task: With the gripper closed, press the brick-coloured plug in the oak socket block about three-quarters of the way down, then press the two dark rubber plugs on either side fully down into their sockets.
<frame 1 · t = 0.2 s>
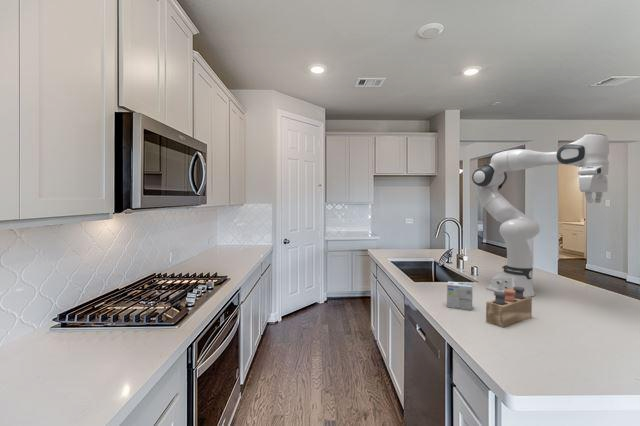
hand: (593, 202, 140), 48 cm above the worktop, tool pointing down, fingers open, 8 cm apart
plug near: (499, 302, 128), point 8 cm above the worktop, slide at 0.0 cm
plug mid: (509, 300, 132), point 8 cm above the worktop, slide at 0.0 cm
oak socket block: (509, 319, 132), on the worktop
light bulb box: (459, 307, 148), on the worktop
plug far: (518, 297, 135), point 8 cm above the worktop, slide at 0.0 cm
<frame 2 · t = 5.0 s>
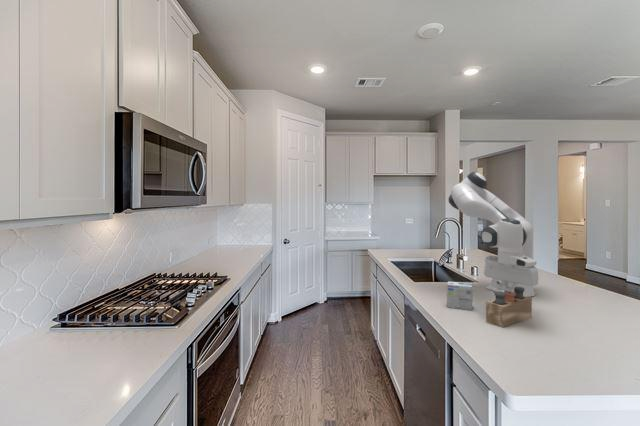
hand: (509, 292, 132), 11 cm above the worktop, tool pointing down, fingers closed, pressing on plug mid
plug mid: (509, 301, 132), point 7 cm above the worktop, slide at 0.8 cm, touching gripper
everything else where it was.
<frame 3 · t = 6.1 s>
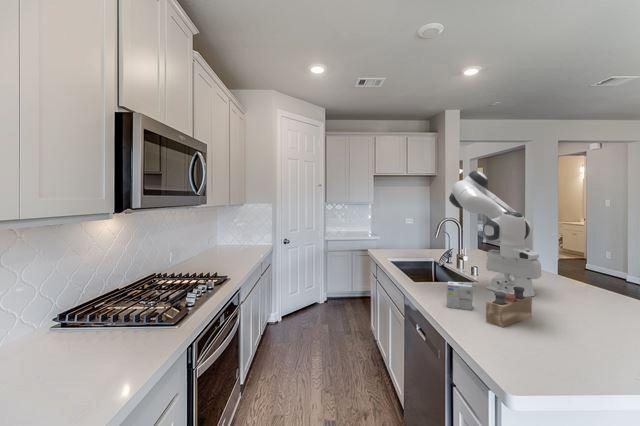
hand: (511, 285, 131), 14 cm above the worktop, tool pointing down, fingers closed
plug mid: (509, 304, 132), point 6 cm above the worktop, slide at 1.9 cm
everything else where it was.
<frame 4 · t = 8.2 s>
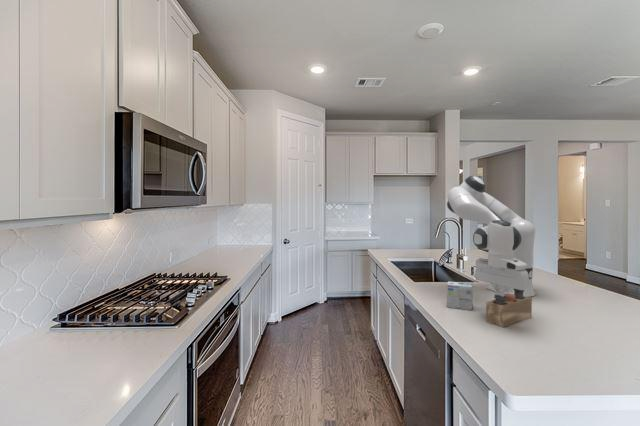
hand: (499, 295, 128), 11 cm above the worktop, tool pointing down, fingers closed, pressing on plug near
plug near: (499, 305, 128), point 7 cm above the worktop, slide at 1.2 cm, touching gripper
everything else where it was.
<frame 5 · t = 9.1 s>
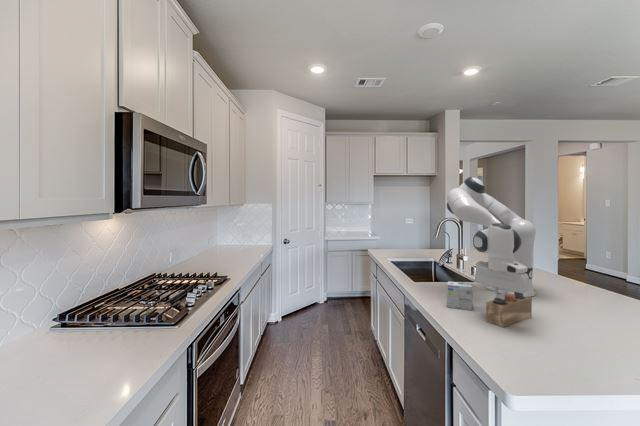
hand: (499, 298, 128), 10 cm above the worktop, tool pointing down, fingers closed
plug near: (499, 309, 128), point 6 cm above the worktop, slide at 2.5 cm
everything else where it was.
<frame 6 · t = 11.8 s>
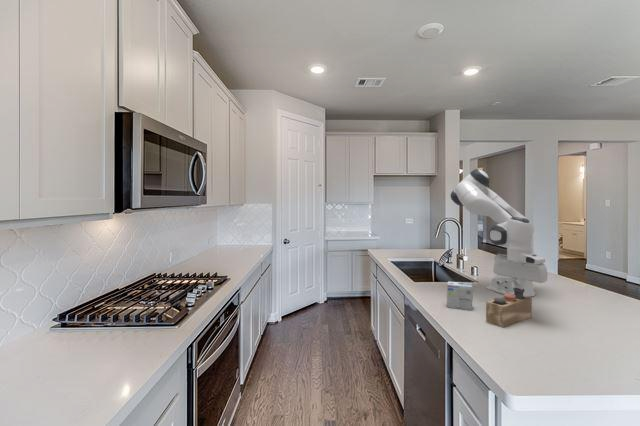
hand: (518, 288, 135), 12 cm above the worktop, tool pointing down, fingers closed, pressing on plug far
plug far: (518, 298, 135), point 8 cm above the worktop, slide at 0.4 cm, touching gripper
everything else where it was.
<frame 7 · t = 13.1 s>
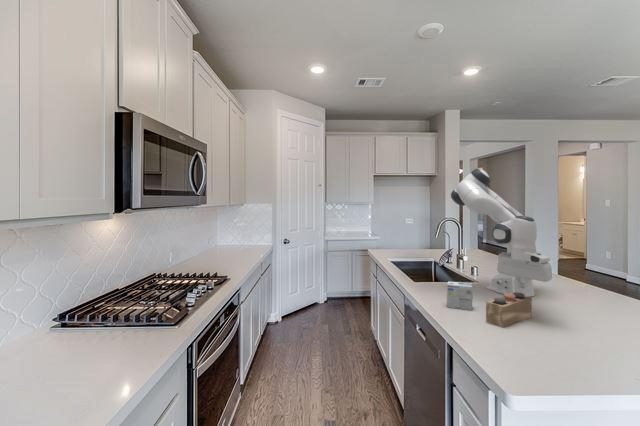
hand: (522, 287, 135), 12 cm above the worktop, tool pointing down, fingers closed
plug far: (518, 303, 136), point 5 cm above the worktop, slide at 2.5 cm
everything else where it was.
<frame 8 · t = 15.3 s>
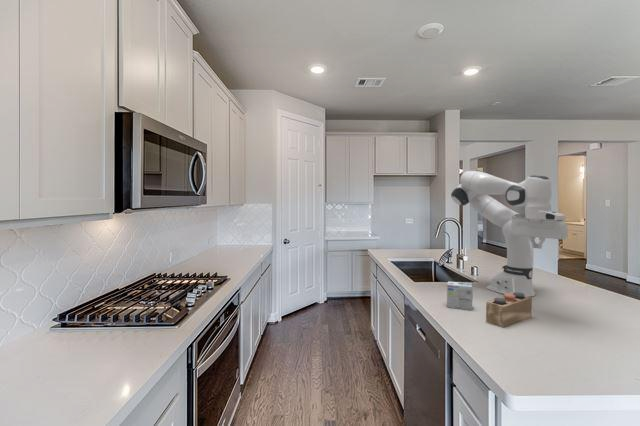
hand: (536, 248, 133), 29 cm above the worktop, tool pointing down, fingers closed
nothing on the worktop moved.
at the end: plug mid slide at 1.9 cm; plug near slide at 2.5 cm; plug far slide at 2.5 cm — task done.
